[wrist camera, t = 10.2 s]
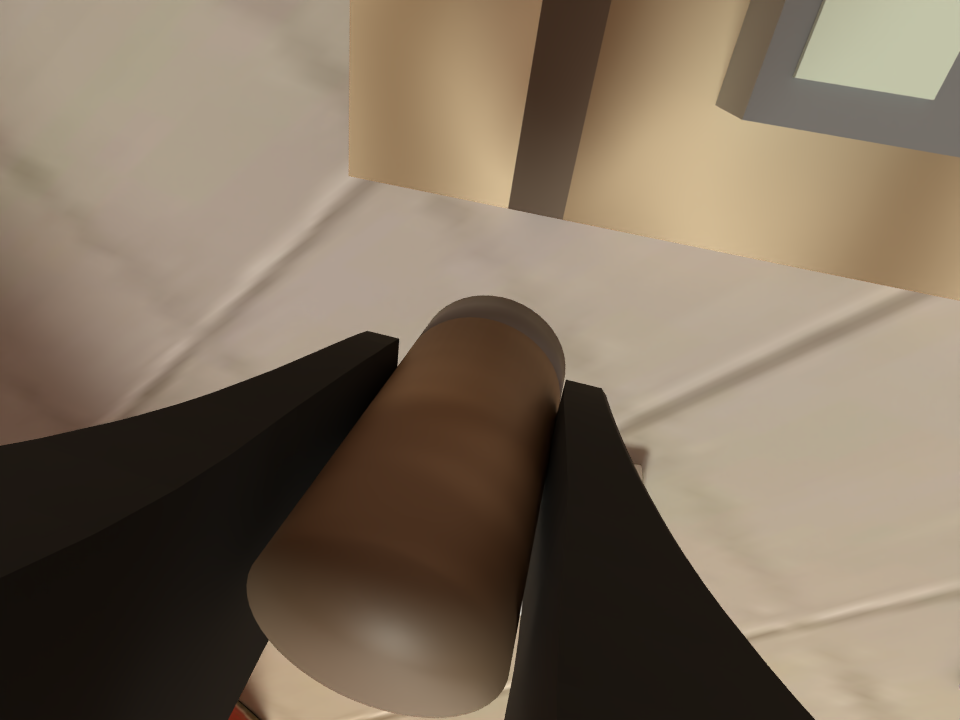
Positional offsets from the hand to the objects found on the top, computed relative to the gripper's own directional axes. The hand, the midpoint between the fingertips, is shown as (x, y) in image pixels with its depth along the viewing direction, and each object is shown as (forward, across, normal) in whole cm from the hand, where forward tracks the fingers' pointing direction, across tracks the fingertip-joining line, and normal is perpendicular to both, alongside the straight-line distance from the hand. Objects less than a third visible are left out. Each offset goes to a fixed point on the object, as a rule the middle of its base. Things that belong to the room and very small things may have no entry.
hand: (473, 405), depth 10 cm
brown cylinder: (+2, 0, 0) cm, 2 cm away
